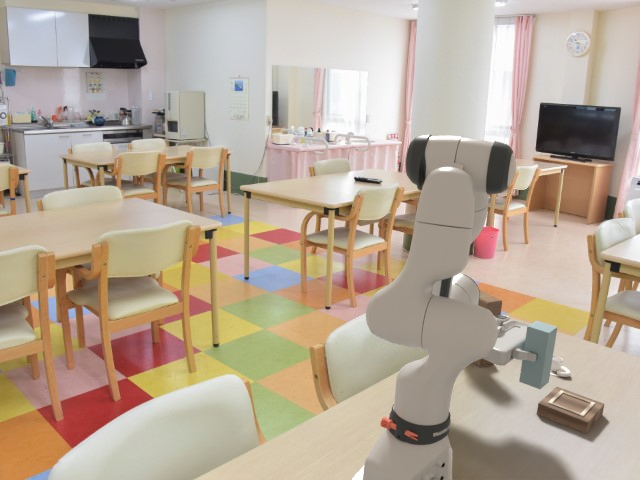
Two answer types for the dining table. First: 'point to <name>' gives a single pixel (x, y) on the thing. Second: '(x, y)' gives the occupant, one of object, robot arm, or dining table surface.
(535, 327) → the column
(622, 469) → the dining table surface
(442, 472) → the robot arm
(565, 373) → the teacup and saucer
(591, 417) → the plinth
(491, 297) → the decorative block
